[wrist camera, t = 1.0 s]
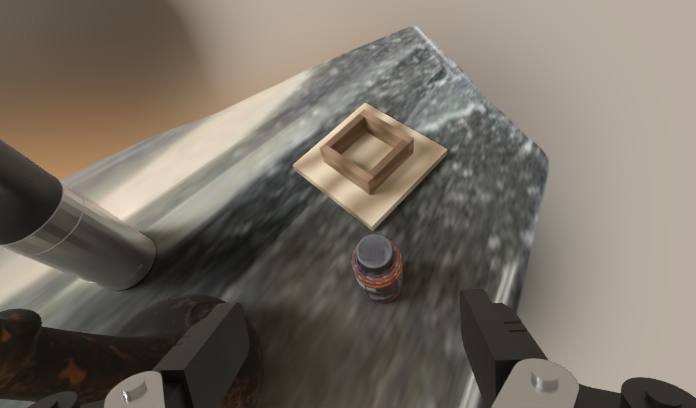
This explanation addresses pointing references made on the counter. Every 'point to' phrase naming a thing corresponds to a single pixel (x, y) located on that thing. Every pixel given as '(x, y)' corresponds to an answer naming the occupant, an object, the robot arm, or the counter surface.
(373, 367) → the counter surface
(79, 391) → the rusty bud vase
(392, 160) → the collar board
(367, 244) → the supplement bottle
